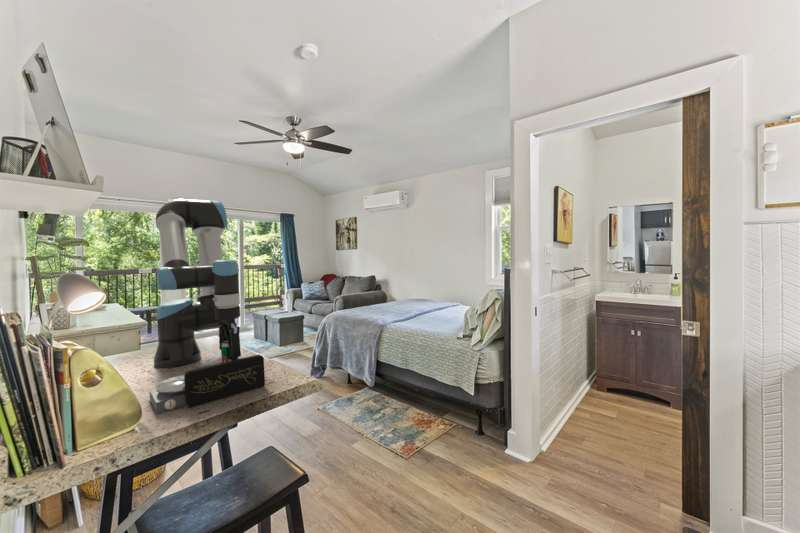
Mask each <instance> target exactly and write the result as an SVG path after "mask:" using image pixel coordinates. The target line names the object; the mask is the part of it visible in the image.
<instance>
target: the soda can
mask: <svg viewBox="0 0 800 533" xmlns="http://www.w3.org/2000/svg"><path fill="white" fill-rule="evenodd" d="M220 353H221V363H224V362H229V359H228V358H229V357H230V354H229V348H228V341H224V342H222V345H221V351H220ZM238 359H240V357H238Z"/></svg>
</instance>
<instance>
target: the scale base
mask: <svg viewBox="0 0 800 533" xmlns="http://www.w3.org/2000/svg"><path fill="white" fill-rule="evenodd" d="M149 401H150V403H151V405H152V407H153V409H154V410H155V412H156V414H157V415H159V414H161V413H164V412H168V411H171V410H174V409H178V408H181V407H184V406H187V405H186V397H185V391H182V392H178V393H170V394H163V393H158V392H157V390H156V388H152V389H149Z"/></svg>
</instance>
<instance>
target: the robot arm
mask: <svg viewBox="0 0 800 533" xmlns="http://www.w3.org/2000/svg"><path fill="white" fill-rule="evenodd" d="M155 227H156V228H157V230H158V231H159V237H160V246H161V248H160V249H161V256H162V258H161V259H162V266H163V267H162V266H161V267H158V268H157V269H156V276H157V279H156V280H157V287H158V289H159V290H161V291H176V290H187V289H195V288H201V293H200V295H199V296H197V298H198V301H193V299H192V298H181V299H174V300H170V301H167V302H164V303H162V304H159V305H158V306H157V307H156V317H155V319H156V322H157V323H156V326H157V342H158V344H157V347H156V352H155V353H154V357H153V366H155V367H157V368H174V367H181V366H184V365H188V364H191V363H194V362H196V361H198V360H200V359H201V358H202V356H201V353H202V352H201V349H200V347H199V345H198V342H197V341H196V336H195V332H201V331H208V330H215V329H218V339H219V340H218V341H219V342H218V343H219V346H218V347H219V350H221V345H222V342H224V341H228V348H229V354H230V357H229V358H228V359H229V361H233V360H237V359H238V357H239V358H240V357H241V356H242V352H241V339H240V338H241V336H240V326H238V325H237V323H236V319H238V318H240V317H241V306H239V305H240V304H241V299H240V298H241V297H240V287H239V286H240V283H239V266H238V261H237V260H235V259H223V250H222V241H221V240H222V238H221V235H222V234H223V233H224V232H225V230H224V229H227V227H228V216H227V212H226V209H225V206H224V204H223V203H222V202H221V201H218V200H211V199H208V200H207V199H191V198H190V199H189V198H187V199H185V198H177V199H176V198H175V199H173V200H170V201H168V202H166V203H165V204H164V205H163V206H161V207H160V208H159V210H158V211H157V213H156V215H155ZM185 228H187V229H188V228H189V229H191V230H192V231H191V232H192V234H194V235H196V239H197V240H196V241H197V249H198V250H197V252H198V253H197V254H198V261H199V263H198V264H199V265H190V259H189V255H188V249H187V244H186V236H185Z"/></svg>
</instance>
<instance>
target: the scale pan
mask: <svg viewBox="0 0 800 533" xmlns="http://www.w3.org/2000/svg"><path fill="white" fill-rule="evenodd" d="M155 387H156V388H155V389H156V390H157V392H158V393H163V394H170V393H178V392H182V391H185V381H184V374H181V375H177V376H172V377H169V378H166V379H164V380H162V381H160V382H158V384H157V385H156V386H155Z"/></svg>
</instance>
